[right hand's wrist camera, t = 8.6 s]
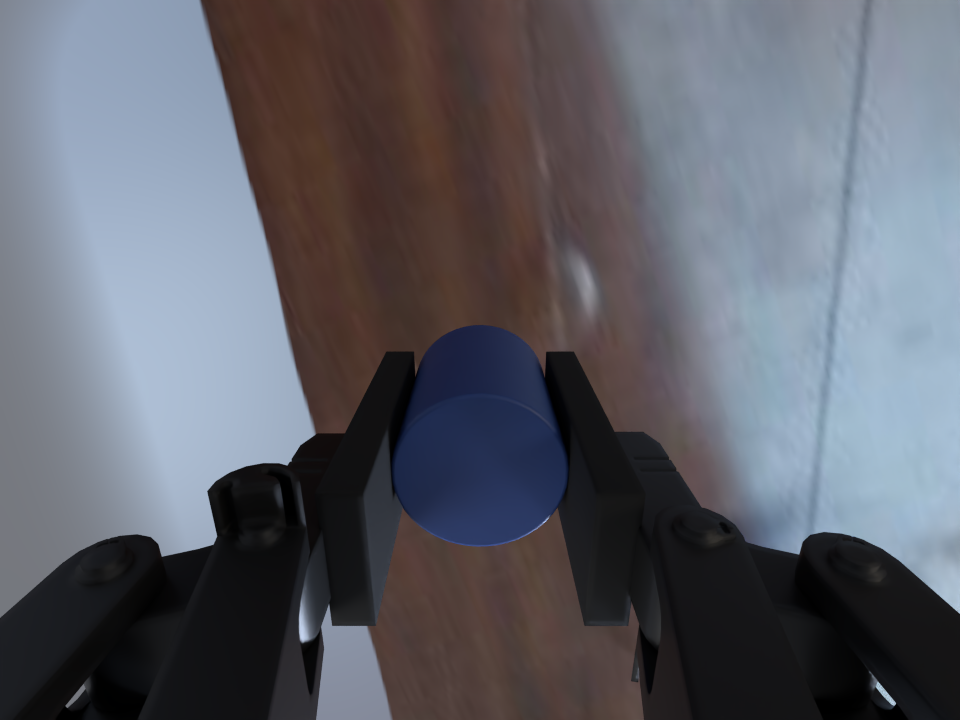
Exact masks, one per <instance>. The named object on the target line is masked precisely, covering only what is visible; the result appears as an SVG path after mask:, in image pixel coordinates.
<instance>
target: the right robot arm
mask: <svg viewBox="0 0 960 720" xmlns="http://www.w3.org/2000/svg"><path fill="white" fill-rule="evenodd" d="M545 380H546V384H547V387H548V390H549V393H550V397H551V400H552V403H553V407H554V410H555V413H556V417H557V420H558V423H559V426H560V430H561V433H562V436H563V440H564V443H565V446H566V450H567V453H568V458H569V478H568V484H567V488H566V491H565V494H564V496H563V498H562V500H561V502H560V504H559V506H558V511H559V515H560V520H561V524H562V528H563V533H564V537H565V542H566V546H567V550H568V555H569V559H570V564H571V568H572V572H573V577H574V581H575V586H576V590H577V594H578V599H579V603H580V608H581V612H582V616H583V621H584V625H585V626H628V623H629V615H630V608H631V601H632V604H633V607H634V610H635V613H636V616H637V618H638V621H639V630H638V637H637V644H636V651H635V658H634V665H633V672H632V679H631V681H633V682H638V680H639V678H640V687H641V696H642V705H643V714H644V720H960V614H959V613H958V612H957V611H956V610H955V609H953V608H952V607H951V606H950V605H949V604H948V603H947V602H946V601H944V600H943V599H942V598H941V597H940V596H939V595H938V594H936V593H935V592H934V591H933V590H932V589H931V588H930V587H928V586H927V585H926V584H925V583H924V582H923V581H922V580H920V579H919V578H918V577H917V576H916V575H915V574H914V573H912V572H911V571H910V570H909V569H908V568H907V567H906V566H904V565H903V564H902V563H901V562H900V561H899V560H897V559H896V558H894V557H893V556H891V555H890V554H889V553H887V552H886V551H884V550H883V549H881V548H879V547H877V546H875V545H873V544H871V543H868V542H866V541H865V540H862V539H859V538H856V537H851V536H849V535H844V534H839V533H827V532H822V533H817V534H813V535H810V536H809V537H808V538H807V539H805V540H804V541H803V543H802V547H801V551H800V554H799V555H798V554H793V553H789V552H784V551H779V550H774V549H770V548H765V547H761V546H757V545H754V544H750V543H747V542H745V540H744V537H743V535H742V534H741V533H740V531H739V530H738V529H737V527H736V526H735V525H734V524H733V523H732V522H730V521H729V520H727V519H726V518H725V517H723V516H722V515H720V514H717V513H715V512H713V511H711V510H708V509H706V508H702V507H701V506H700V504H699V503H698V501H697V500H696V498H695V497H694V495H693V494H692V492H691V491H690V489H689V487H688V486H687V484H686V483H685V481H684V480H683V478H682V477H681V475H680V474H679V472H677V471H676V467H675V466H674V464H673V463H672V461H671V460H669V457H668V455H667V454H666V452H665V451H664V449H663V447H662V446H661V444H660V443H658V442H657V441H656V440H654V439H653V438H651V437H650V436H648V435H647V434H645V433H644V432H614V430H613V428H612V426H611V424H610V422H609V420H608V418H607V416H606V414H605V412H604V410H603V408H602V406H601V404H600V402H599V400H598V398H597V396H596V394H595V392H594V390H593V388H592V386H591V385H590V383H589V381H588V379H587V377H586V375H585V373H584V371H583V369H582V367H581V365H580V363H579V361H578V359H577V357H576V355H575V353H574V352H546V369H545ZM414 381H415V362H414V352H386V354H385V356H384V358H383V360H382V362H381V364H380V365H379V367H378V369H377V371H376V373H375V375H374V377H373V379H372V381H371V383H370V385H369V387H368V389H367V391H366V393H365V395H364V397H363V399H362V401H361V403H360V405H359V407H358V409H357V411H356V413H355V415H354V417H353V419H352V421H351V423H350V425H349V427H348V429H347V431H346V433H345V434H316V435H315V436H313V437H312V438H310V439H309V440H308V441H306V442H305V443H303V444H302V445H300V447H299V449H298V450H297V452H296V453H295V455H294V456H293V458H292V462H290V463H289V464H288V466H286V465H283V464H279V463H262V464H257V465H252V466H246V467H244V468H241V469H238V470H236V471H233V472H230V473H228V474H227V475H225V476H224V477H222V478H220V479H219V480H217V481H216V482H215V483H214V484H213V485H212V486H211V488H210V489H209V490H208V491H207V492H208V496H209V501H210V505H211V510H212V514H213V519H214V523H215V528H216V532H217V538H216V541H215V543H214V545H211V546H208V547H204V548H200V549H196V550H192V551H187V552H182V553H178V554H173V555H168V556H164V557H162V556H161V553H160V549H159V545H158V544H157V543H156V542H155V541H154V540H153V539H152V538H151V537H147V536H142V535H125V536H118V537H114V538H110V539H106V540H103V541H100V542H97V543H95V544H93V545H91V546H89V547H87V548H85V549H83V550H81V551H79V552H78V553H76V554H75V555H73V556H72V557H70V558H69V559H68V560H66V561H65V562H63V563H62V564H61V565H60V566H59V567H58V568H56V569H55V570H54V571H53V572H52V573H51V574H50V575H48V576H47V577H46V578H45V579H44V580H43V581H42V582H40V583H39V584H38V585H37V586H36V587H35V588H34V589H33V590H31V591H30V592H29V593H28V594H27V595H26V596H25V597H24V598H22V599H21V600H20V601H19V602H18V603H17V604H16V605H14V606H13V607H12V608H11V609H10V610H9V611H8V612H7V613H5V614H4V615H3V616H2V617H1V618H0V720H316V715H317V706H318V697H319V688H320V679H321V670H322V661H323V652H324V645H323V637H322V630H321V625H322V622H323V619H324V616H325V614H326V611H327V608H328V605H330V612H331V620H332V626H376V622H377V618H378V614H379V609H380V605H381V600H382V596H383V592H384V587H385V583H386V578H387V574H388V570H389V565H390V561H391V556H392V552H393V548H394V543H395V539H396V534H397V530H398V526H399V521H400V517H401V512H402V508H403V507H402V505H401V503H400V502H399V500H398V497H397V495H396V493H395V490H394V487H393V483H392V474H391V460H392V455H393V450H394V447H395V444H396V440H397V437H398V434H399V430H400V427H401V424H402V420H403V417H404V414H405V410H406V407H407V404H408V400H409V397H410V394H411V390H412V387H413V384H414ZM877 682H879V683H880V684H881V685H882V687H883V688H884V689H885V690H886V691H887V693H888V694H889V695H890V696H891V697H892V699H893V700H894V701H895V702H896V705H895V706H893V705H891V704H890V703H889V702H888V701H887V700H886V699H885V698H884V697H883V696H882V694H881V693H880V692H879V691H878V689H877V688H876V684H877ZM83 684H84V686H85V688H86V689H85V691H84V692H83V693H82V694H81V695H80V697H79V698H78V699H77V700H76V701H75V702H74V703H73V704H72V705H70V706H69V707H68V708H67V707H66V706H65V705H66V704H67V703H68V702H69V701H70V699H71V698H72V697H73V696H74V695H75V693H76V692H77V691H78V690H79V689H80V687H81V686H82V685H83Z"/></svg>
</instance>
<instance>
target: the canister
mask: <svg viewBox="0 0 960 720" xmlns="http://www.w3.org/2000/svg"><path fill="white" fill-rule="evenodd" d="M391 474H392V483H393V487H394V490H395V493H396V495H397V497H398V500H399V502H400V503H401V505H402V507H403V508H404V510H405V511H406V512H407V514H408V515H409V516H410V517H411V518H412V519H413V520H414V521H415V522H416V523H417V524H418V525H419V526H421V527H422V528H423V529H425V530H426V531H427V532H429V533H431V534H433V535H435V536H436V537H439V538H441V539H443V540H446V541H449V542H453V543H456V544H461V545H467V546H493V545H500V544H504V543H508V542H511V541H514V540H517V539H520V538H522V537H524V536H526V535H528V534H530V533H531V532H533V531H534V530H536V529H537V528H539V527H540V526H541V525H542V524H543V523H545V522H546V521H547V520H548V519H549V517H550V516H551V515H552V514H553V513H554V512H555V510H556V509H557V507H558V506H559V504H560V502H561V500H562V498H563V496H564V494H565V491H566V488H567V484H568V478H569V458H568V453H567V450H566V446H565V443H564V440H563V436H562V433H561V430H560V426H559V423H558V420H557V417H556V413H555V410H554V407H553V403H552V400H551V397H550V393H549V390H548V387H547V384H546V380H545V377H544V374H543V370H542V367H541V364H540V362H539V360H538V358H537V356H536V355H535V353H534V351H533V350H532V349H531V348H530V347H529V345H528V344H527V343H525V342H524V341H523V340H522V339H521V338H519V337H518V336H516V335H515V334H513V333H511V332H509V331H507V330H504V329H501V328H498V327H493V326H486V325H473V326H467V327H462V328H459V329H456V330H454V331H451V332H449V333H447V334H446V335H444V336H442V337H441V338H439V339H438V340H437V341H436V342H435V343H434V344H433V345H432V346H431V347H430V348H429V349H428V350H427V352H426V353H425V354H424V356H423V358H422V360H421V362H420V365H419V368H418V371H417V374H416V377H415V381H414V384H413V387H412V390H411V394H410V397H409V400H408V404H407V407H406V410H405V414H404V417H403V420H402V424H401V427H400V430H399V434H398V437H397V440H396V444H395V447H394V450H393V455H392V460H391Z"/></svg>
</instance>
